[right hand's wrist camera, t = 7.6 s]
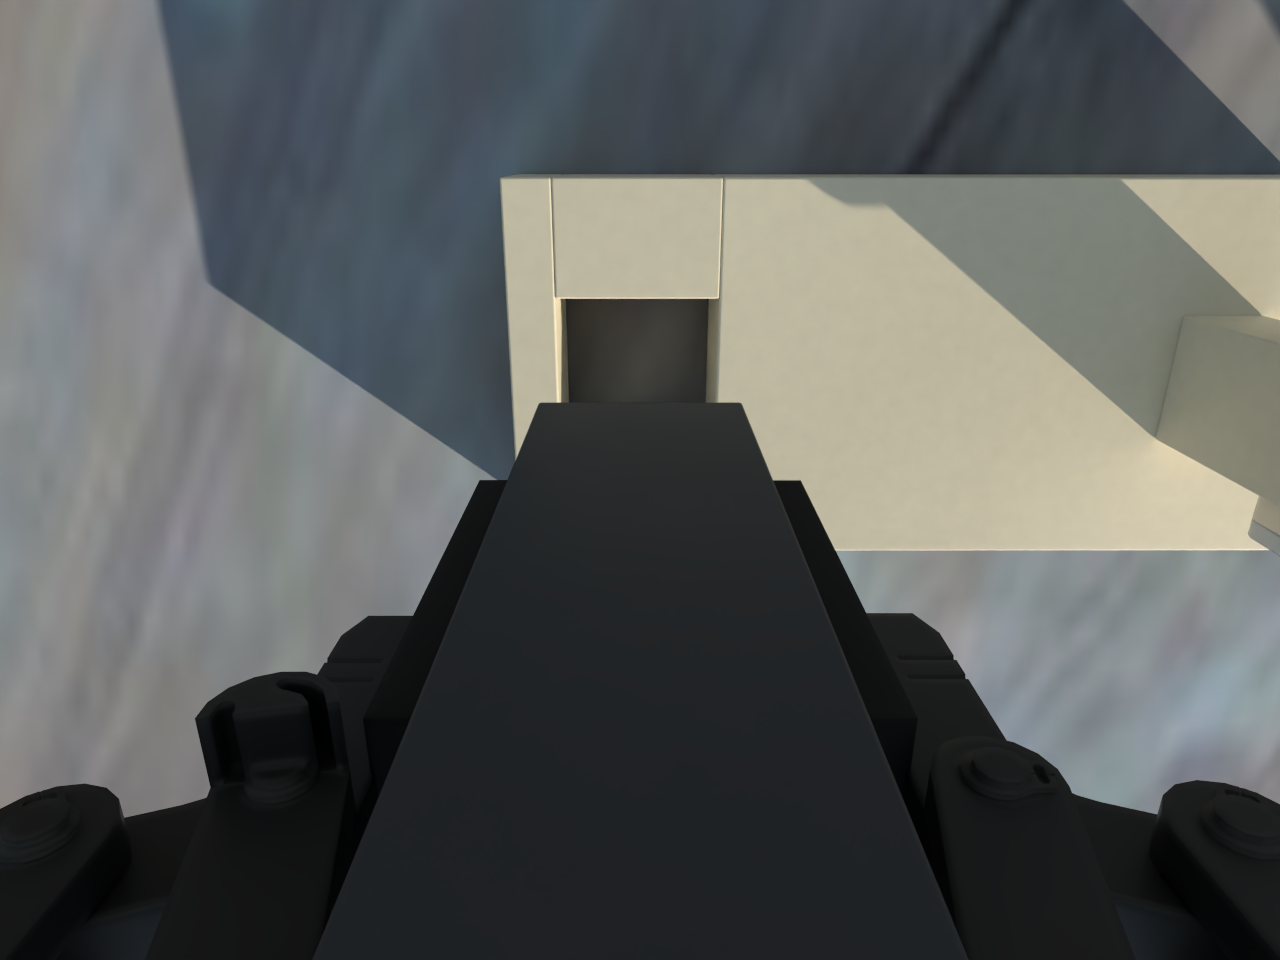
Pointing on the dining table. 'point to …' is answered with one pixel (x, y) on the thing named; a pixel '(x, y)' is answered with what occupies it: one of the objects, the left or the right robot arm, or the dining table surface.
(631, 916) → the peg
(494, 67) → the dining table surface
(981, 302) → the peg board
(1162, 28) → the dining table surface
